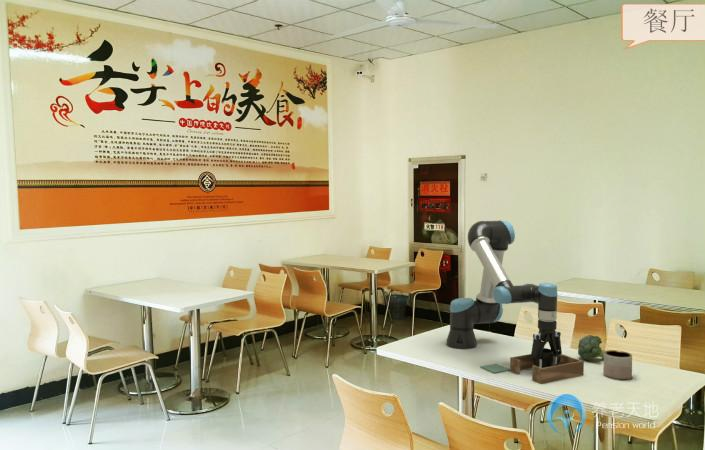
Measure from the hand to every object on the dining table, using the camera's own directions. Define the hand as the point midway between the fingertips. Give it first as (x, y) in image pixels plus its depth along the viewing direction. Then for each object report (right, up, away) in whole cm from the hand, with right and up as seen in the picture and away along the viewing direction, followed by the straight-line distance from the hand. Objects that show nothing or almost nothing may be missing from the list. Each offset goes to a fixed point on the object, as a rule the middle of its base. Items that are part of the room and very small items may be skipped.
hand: (546, 372), depth 235 cm
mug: (0, -1, 0) cm, 1 cm away
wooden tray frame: (0, 0, 0) cm, 0 cm away
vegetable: (+29, 0, +20) cm, 35 cm away
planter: (+29, -1, -4) cm, 29 cm away
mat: (-20, 0, +6) cm, 21 cm away
